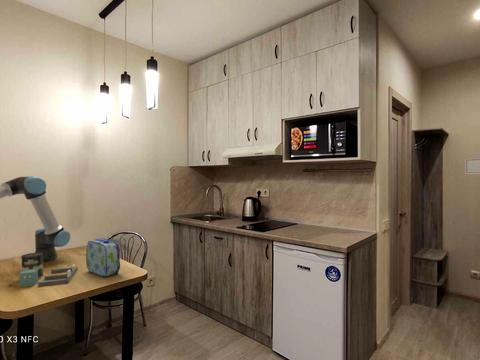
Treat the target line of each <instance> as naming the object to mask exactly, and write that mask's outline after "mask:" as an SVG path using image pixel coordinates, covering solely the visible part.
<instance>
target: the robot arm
mask: <svg viewBox="0 0 480 360" xmlns="http://www.w3.org/2000/svg"><path fill="white" fill-rule="evenodd" d="M46 189H47V183H46V181H45V180H44V178H42V177H40V176H36V175H34V176H33V175H31V176H19V177H16V178H12V179H10V180H8V181H6V182H2V183H1V184H0V200H1V199H3V198H6V197H13V196H16V195H23V196H24V198H25V199H26V200H27V201H30V203H31V205H32V206H33V209H34V210H35V212H36V214H37V216H38V218H39V221H40V222H41V224H42V226H43V227H44V228H39V229H36V230H34V231H35V232H34V233H35V234H34V237H35V239H34V240H35V241H34V245H35V251H34V253H43V263H44V262H51V261H54V260H57V259H58V257H59V256H58V252H57V250H56V248H63V247H65V246H67V245H68V243H69V242H70V240H71V233H70V231H68V230H65V228H64V226H63V225H62V224H59V221H58V220H57V218H56V216H55V213H54V211H53V209H52V207H51V206H50V203H49V201H48V199H47V197H46V194H47V191H46ZM55 247H56V248H55Z"/></svg>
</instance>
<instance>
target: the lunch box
mask: <svg viewBox="0 0 480 360" xmlns="http://www.w3.org/2000/svg"><path fill="white" fill-rule="evenodd" d="M120 250H121V249H120V246H119V244H118V242H115V241H112V240H109V239H105V238H97V239H92V240H89V241H88V242H87V245H86V250H85V251H86V252H85V253H86V254H85V257H86V259H85V261H86V268H87V270H88V272H90V273H92V274H96V275H98V276H99V277H101V278H102V277H103V278H107V277H108V276H113V275H118V274H119V271H120V270H121V261H120V258H121V257H120V254H121V253H120Z"/></svg>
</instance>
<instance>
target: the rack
mask: <svg viewBox="0 0 480 360" xmlns="http://www.w3.org/2000/svg"><path fill="white" fill-rule="evenodd" d="M77 271H78V266H76V264H72V266H71V267H63V268H53V269H51V275H45V276H43V278H44V279H43V280H44V281H38V283H37V285H38V286H37V287H44V286H45V287H48V286H55V285H64V284H69V282H70V281H71V279H72V278H73V277H74V275H75V274H76V273H77ZM56 273H61V274H56ZM62 273H63V274H62ZM52 274H53V275H52Z"/></svg>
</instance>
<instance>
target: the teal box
mask: <svg viewBox="0 0 480 360" xmlns="http://www.w3.org/2000/svg"><path fill="white" fill-rule="evenodd" d="M38 283H39V279H38V269H35V270H25V271H22V270H21V271H20V273H19V288H24V287H32V286H33V287H34V286H36V285H38Z"/></svg>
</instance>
